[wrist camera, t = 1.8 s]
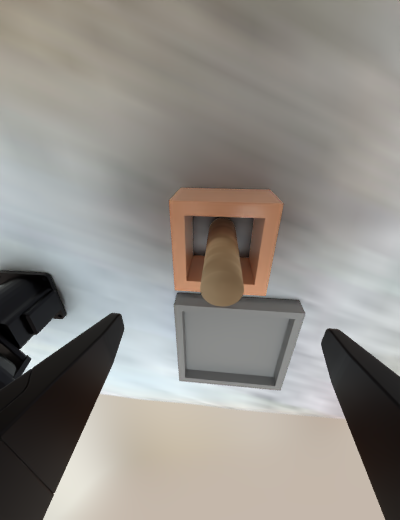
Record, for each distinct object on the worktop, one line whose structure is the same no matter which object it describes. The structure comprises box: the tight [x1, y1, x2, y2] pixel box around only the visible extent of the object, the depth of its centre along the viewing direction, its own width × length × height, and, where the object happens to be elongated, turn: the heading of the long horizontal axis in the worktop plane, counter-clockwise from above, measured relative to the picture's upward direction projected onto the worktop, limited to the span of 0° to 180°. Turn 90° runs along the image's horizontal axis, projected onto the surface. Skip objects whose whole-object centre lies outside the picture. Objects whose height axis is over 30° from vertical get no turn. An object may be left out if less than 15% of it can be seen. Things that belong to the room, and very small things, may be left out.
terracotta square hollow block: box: [169, 188, 284, 296], centre depth 18 cm, size 7×7×4 cm
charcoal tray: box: [174, 293, 305, 390], centre depth 25 cm, size 13×13×2 cm
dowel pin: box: [200, 218, 244, 307], centre depth 16 cm, size 2×2×9 cm
